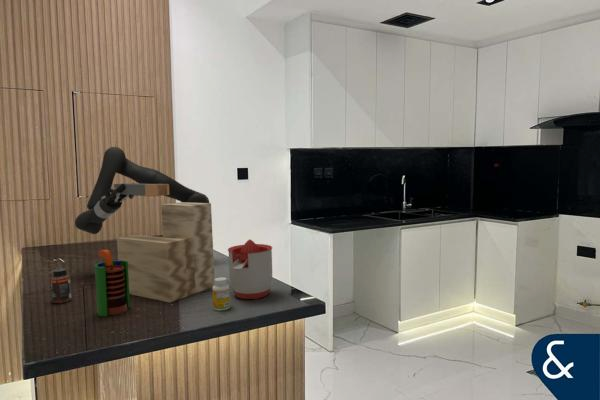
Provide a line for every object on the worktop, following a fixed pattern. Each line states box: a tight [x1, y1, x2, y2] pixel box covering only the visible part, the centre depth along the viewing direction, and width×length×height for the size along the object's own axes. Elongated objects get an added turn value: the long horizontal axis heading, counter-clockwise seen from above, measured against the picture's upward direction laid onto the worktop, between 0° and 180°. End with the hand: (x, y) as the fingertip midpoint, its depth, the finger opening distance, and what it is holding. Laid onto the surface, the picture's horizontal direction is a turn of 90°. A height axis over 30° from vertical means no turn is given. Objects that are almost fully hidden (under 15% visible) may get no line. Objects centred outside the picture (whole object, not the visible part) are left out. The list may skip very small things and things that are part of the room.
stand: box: [116, 201, 215, 303], centre depth 167 cm, size 22×27×32 cm
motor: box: [94, 249, 131, 318], centre depth 144 cm, size 10×9×20 cm
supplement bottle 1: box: [50, 268, 72, 304], centre depth 157 cm, size 6×6×11 cm
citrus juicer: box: [227, 239, 273, 300], centre depth 156 cm, size 16×17×20 cm
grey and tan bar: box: [113, 182, 169, 197], centre depth 170 cm, size 6×26×4 cm, turn 57°
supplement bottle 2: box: [211, 276, 231, 312], centre depth 144 cm, size 5×5×10 cm
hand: (129, 185), depth 173 cm, fingers closed on grey and tan bar, 4 cm apart
